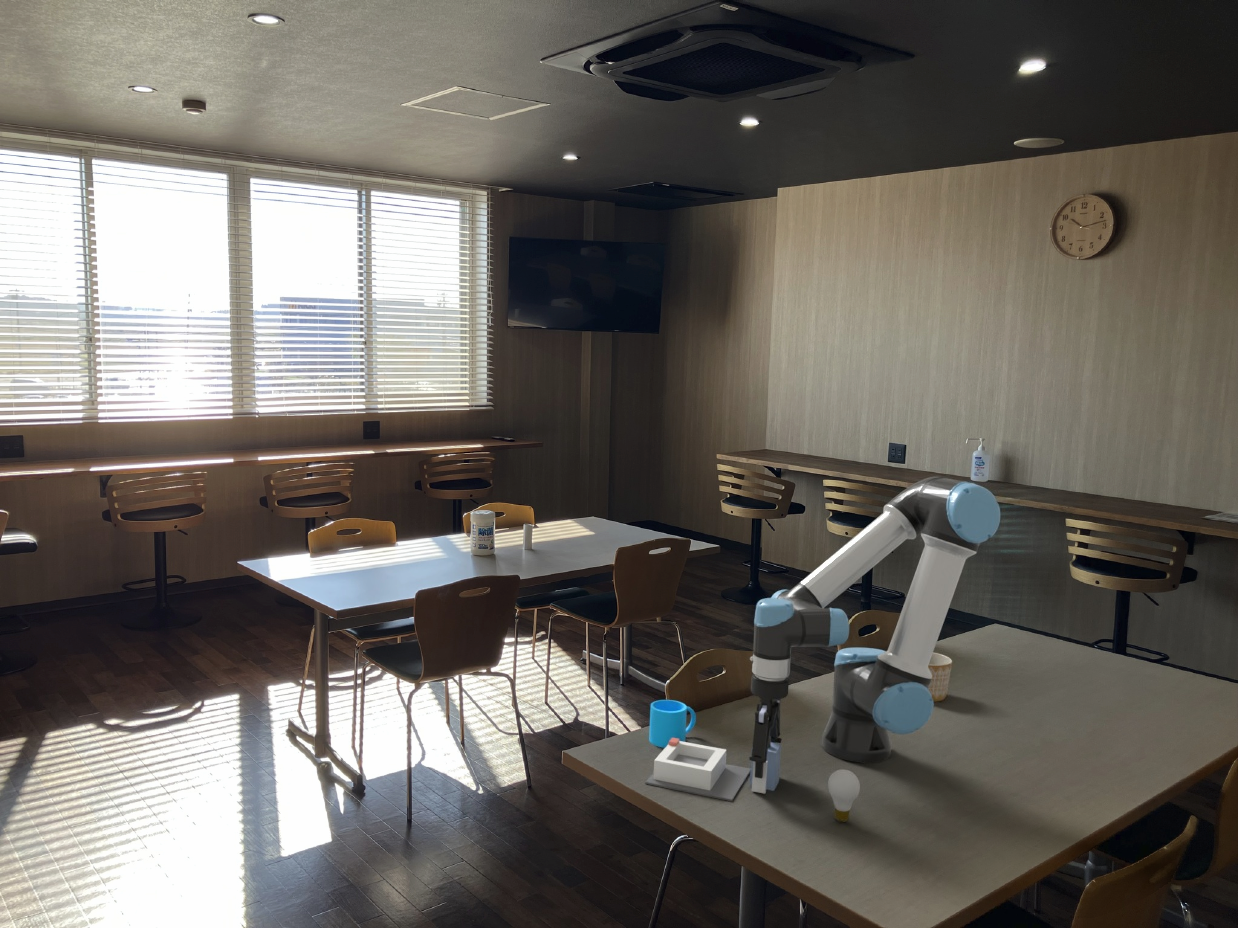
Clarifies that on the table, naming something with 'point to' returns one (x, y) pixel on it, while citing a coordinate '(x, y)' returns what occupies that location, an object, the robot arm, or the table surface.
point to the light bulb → (843, 792)
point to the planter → (939, 676)
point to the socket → (697, 770)
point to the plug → (771, 765)
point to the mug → (669, 722)
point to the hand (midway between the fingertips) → (763, 781)
